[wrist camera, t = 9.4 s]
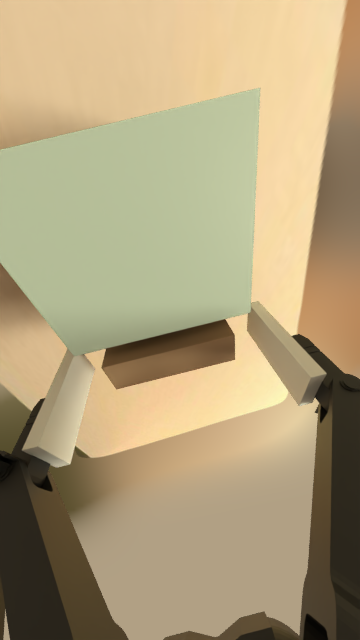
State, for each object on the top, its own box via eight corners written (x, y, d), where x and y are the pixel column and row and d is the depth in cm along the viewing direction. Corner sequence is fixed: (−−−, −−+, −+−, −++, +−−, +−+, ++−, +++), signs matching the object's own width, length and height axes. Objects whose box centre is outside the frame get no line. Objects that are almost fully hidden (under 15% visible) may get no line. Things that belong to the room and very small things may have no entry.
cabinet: (47, 181, 15) (-100, 173, 6) (191, 146, 15) (260, 87, 6) (119, 325, 24) (104, 409, 15) (209, 303, 24) (247, 373, 15)
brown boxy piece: (119, 291, 21) (101, 368, 12) (197, 272, 21) (234, 334, 12) (130, 316, 23) (121, 396, 14) (200, 298, 23) (235, 368, 14)
